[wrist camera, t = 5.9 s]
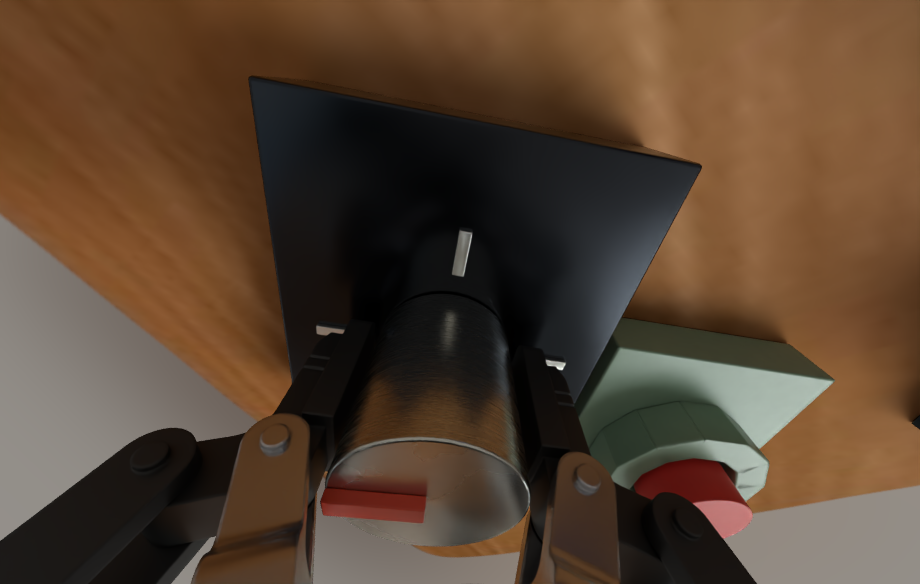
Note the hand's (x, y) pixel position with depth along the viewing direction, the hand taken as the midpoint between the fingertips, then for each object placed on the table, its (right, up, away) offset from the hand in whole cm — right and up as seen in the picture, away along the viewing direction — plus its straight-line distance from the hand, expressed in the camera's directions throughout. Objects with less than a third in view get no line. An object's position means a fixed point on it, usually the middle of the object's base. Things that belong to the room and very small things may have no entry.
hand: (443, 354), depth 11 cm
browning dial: (0, 0, 0) cm, 1 cm away
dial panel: (0, +2, +3) cm, 4 cm away
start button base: (+10, -4, +6) cm, 13 cm away
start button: (+10, -6, +3) cm, 12 cm away
